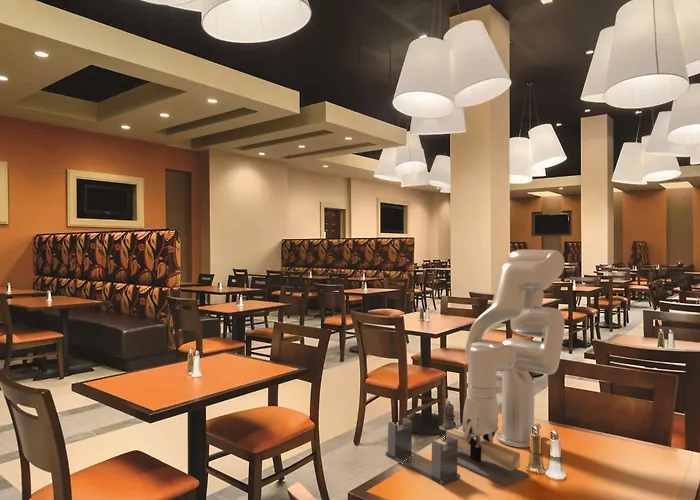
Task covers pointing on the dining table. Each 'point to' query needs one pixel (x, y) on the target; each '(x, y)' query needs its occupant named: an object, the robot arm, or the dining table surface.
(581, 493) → the dining table surface
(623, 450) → the dining table surface
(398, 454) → the rack
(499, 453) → the rail
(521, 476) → the mat
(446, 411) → the grey figurine
